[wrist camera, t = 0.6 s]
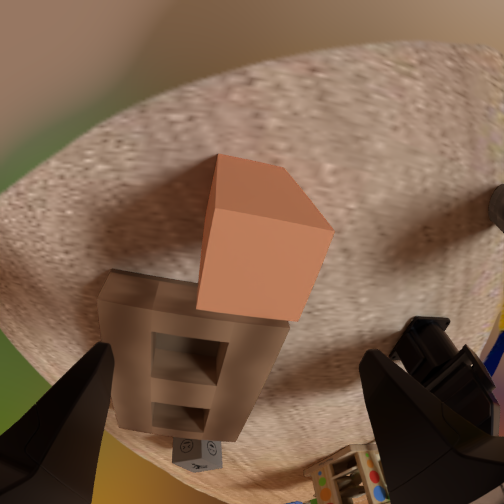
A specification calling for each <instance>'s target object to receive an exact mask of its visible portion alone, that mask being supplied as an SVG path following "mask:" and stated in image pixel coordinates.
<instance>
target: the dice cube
mask: <svg viewBox="0 0 504 504" xmlns="http://www.w3.org/2000/svg"><path fill="white" fill-rule="evenodd" d="M172 463H173V464H175V465H178V466H180V467H182V468H184V469H187V470H189V471H191V472H194V473H195V472H202V471H208V470H214V469H219V468H223V467H222V449H221V441H210V440H198V439H188V438H179V437H173V452H172Z"/></svg>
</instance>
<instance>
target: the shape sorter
mask: <svg viewBox="0 0 504 504" xmlns="http://www.w3.org/2000/svg"><path fill="white" fill-rule="evenodd" d="M294 503H295V504H303V503H302V502H298V501H295V502H291V503H286V504H294ZM304 504H318V503H317V499H313V500H310V502H308V503H304Z"/></svg>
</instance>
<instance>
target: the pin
mask: <svg viewBox="0 0 504 504" xmlns="http://www.w3.org/2000/svg"><path fill="white" fill-rule="evenodd" d="M334 233H335V231H334V230H333V228H332V227H331V226H330V224H329V223H328V222H327V220H326V219H325V218H324V217H323V215H322V214H321V213H320V211H319V210H318V209H317V208H316V206H315V205H314V204H313V203H312V201H311V200H310V199H309V198H308V196H307V195H306V194H305V193H304V191H303V190H302V189H301V188H300V186H299V185H298V184H297V183H296V182H295V180H294V179H293V178H292V177H291V176H290V174H289V173H288V172H287V171H286V170H285V168H283V167H278V166H274V165H270V164H265V163H261V162H256V161H252V160H247V159H242V158H237V157H233V156H227V155H222V154H218V157H217V161H216V166H215V171H214V175H213V180H212V185H211V190H210V195H209V200H208V205H207V210H206V215H205V223H204V231H203V241H202V250H201V260H200V270H199V281H198V292H197V304H196V309H198V310H205V311H212V312H219V313H226V314H234V315H242V316H250V317H259V318H267V319H277V320H286V321H297V322H298V320H299V318H300V316H301V314H302V311H303V309H304V307H305V304H306V302H307V300H308V297H309V295H310V293H311V290H312V288H313V286H314V283H315V281H316V278H317V276H318V273H319V271H320V269H321V266H322V264H323V261H324V259H325V256H326V253H327V251H328V248H329V246H330V243H331V241H332V238H333V235H334Z"/></svg>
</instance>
